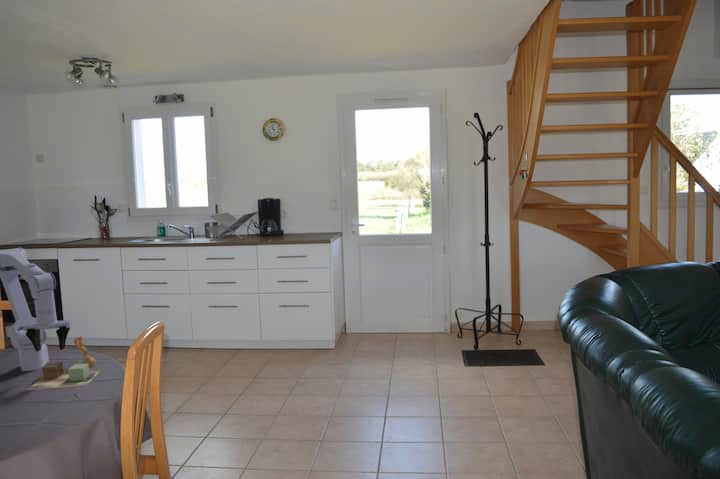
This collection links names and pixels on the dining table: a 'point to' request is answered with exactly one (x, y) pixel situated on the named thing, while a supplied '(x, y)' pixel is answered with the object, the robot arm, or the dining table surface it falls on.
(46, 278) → the robot arm
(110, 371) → the dining table surface
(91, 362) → the figurine
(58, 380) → the baseplate
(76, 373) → the sage block
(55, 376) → the walnut block
